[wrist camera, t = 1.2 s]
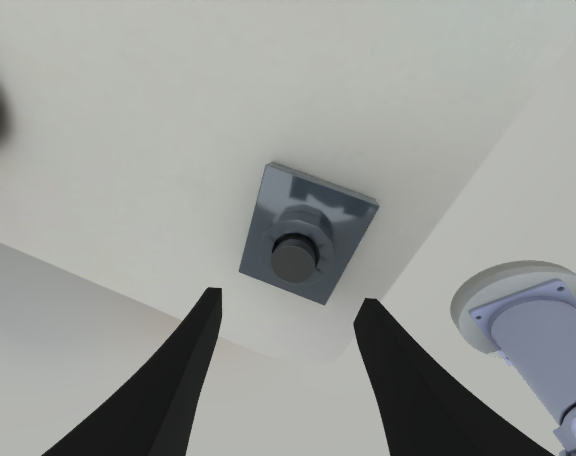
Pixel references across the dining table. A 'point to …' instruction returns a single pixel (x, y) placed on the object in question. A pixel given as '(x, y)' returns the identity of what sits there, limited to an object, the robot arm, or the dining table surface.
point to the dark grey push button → (294, 259)
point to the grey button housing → (305, 227)
